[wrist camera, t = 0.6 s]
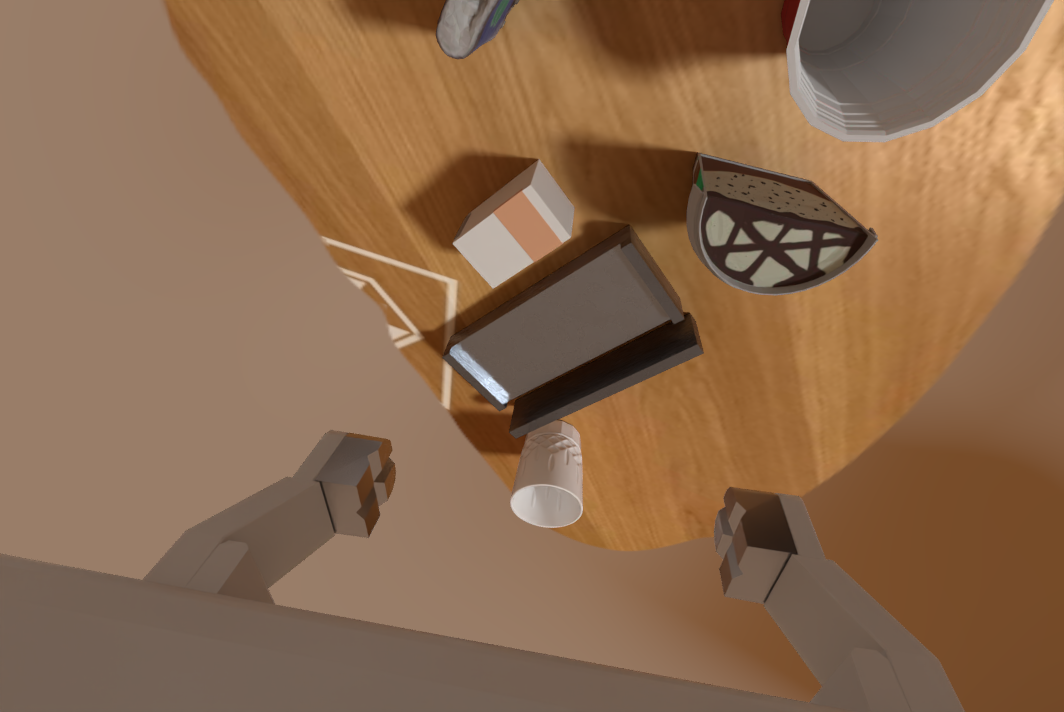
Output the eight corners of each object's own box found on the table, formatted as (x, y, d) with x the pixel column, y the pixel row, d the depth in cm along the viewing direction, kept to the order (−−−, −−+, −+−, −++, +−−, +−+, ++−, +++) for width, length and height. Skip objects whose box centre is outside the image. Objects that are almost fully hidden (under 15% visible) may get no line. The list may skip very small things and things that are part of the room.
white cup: (511, 441, 62) (497, 510, 54) (541, 405, 57) (532, 474, 50) (564, 466, 64) (558, 535, 56) (598, 432, 59) (597, 503, 51)
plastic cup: (711, 80, 35) (749, 123, 26) (788, -129, 28) (878, -173, 19) (857, 113, 35) (947, 168, 26) (969, -85, 28) (1145, -107, 19)
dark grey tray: (450, 337, 52) (438, 367, 49) (629, 224, 42) (632, 250, 38) (521, 406, 58) (515, 438, 54) (695, 321, 48) (703, 353, 44)
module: (467, 213, 44) (451, 243, 39) (538, 158, 40) (530, 184, 35) (504, 256, 46) (493, 289, 41) (575, 207, 42) (571, 238, 37)
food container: (651, 220, 42) (661, 279, 34) (679, 147, 38) (698, 195, 30) (788, 254, 42) (829, 319, 35) (830, 185, 39) (886, 241, 31)
